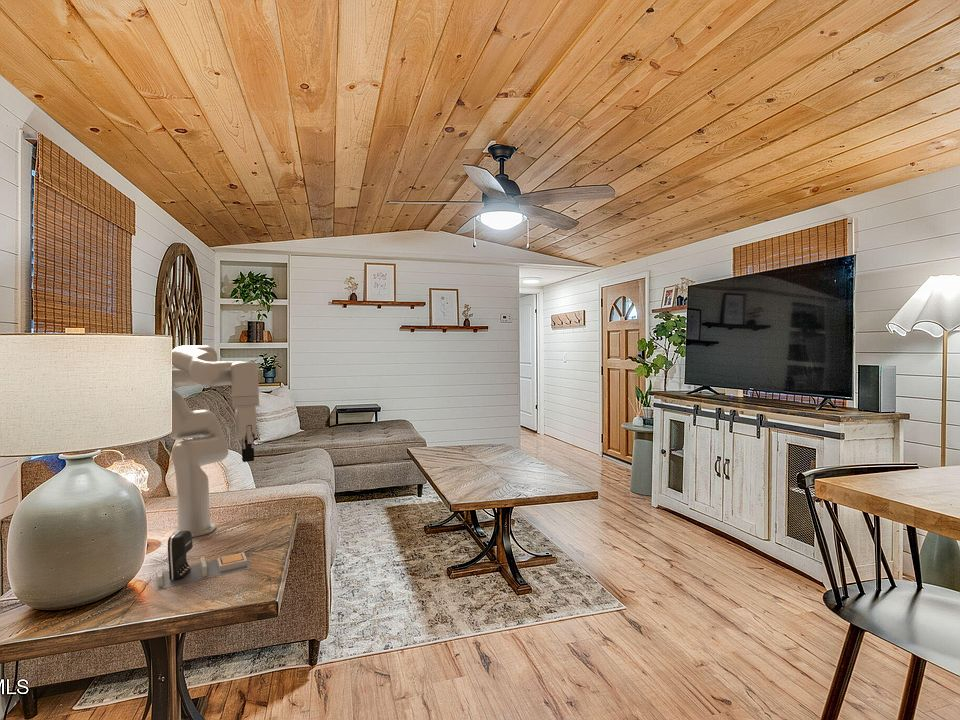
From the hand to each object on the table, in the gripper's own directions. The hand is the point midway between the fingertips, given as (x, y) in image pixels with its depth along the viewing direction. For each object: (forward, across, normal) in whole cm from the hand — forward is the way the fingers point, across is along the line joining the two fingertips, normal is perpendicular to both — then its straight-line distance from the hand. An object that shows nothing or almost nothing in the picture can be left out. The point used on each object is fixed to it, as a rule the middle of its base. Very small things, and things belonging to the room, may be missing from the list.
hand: (248, 460), depth 157 cm
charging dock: (+27, +14, -14) cm, 34 cm away
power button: (+25, +14, -7) cm, 30 cm away
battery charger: (+26, +14, -19) cm, 35 cm away
